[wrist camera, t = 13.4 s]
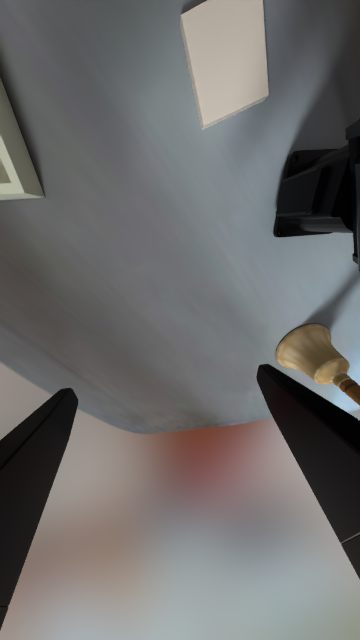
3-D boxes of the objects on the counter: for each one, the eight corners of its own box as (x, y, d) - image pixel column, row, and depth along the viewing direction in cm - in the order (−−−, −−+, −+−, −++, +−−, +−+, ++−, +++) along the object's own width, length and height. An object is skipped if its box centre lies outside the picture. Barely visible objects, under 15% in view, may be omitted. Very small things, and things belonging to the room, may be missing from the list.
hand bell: (338, 321, 24) (572, 449, 11) (316, 364, 28) (464, 496, 15) (284, 325, 24) (457, 466, 10) (269, 368, 28) (377, 511, 14)
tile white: (251, -5, 11) (260, -30, 10) (260, 104, 13) (268, 94, 12) (179, 33, 11) (180, 14, 10) (200, 133, 14) (203, 126, 13)
